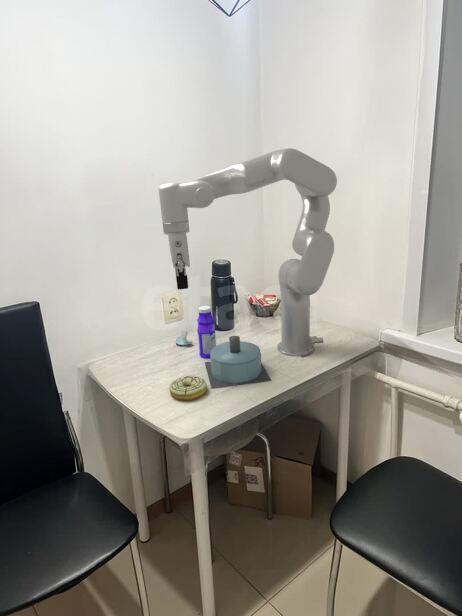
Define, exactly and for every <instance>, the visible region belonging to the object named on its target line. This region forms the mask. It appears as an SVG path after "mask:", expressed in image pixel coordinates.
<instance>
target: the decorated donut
mask: <svg viewBox="0 0 462 616" xmlns="http://www.w3.org/2000/svg"><path fill="white" fill-rule="evenodd" d="M207 388H208V384H207V382H206V379H205V378H203V377H200V376H195V375H186V376H181V377H178V378H176V379H173V380H172V381H171V382H170V384H169V387H168V389H169V392H170V395H171V396H172V397H173V398H174V399H176V400H179V401H183V402H185V401H193V400H196V399H198V398H200V397H202V396H203V395H204V394H205V393H206V391H207Z"/></svg>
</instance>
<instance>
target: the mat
mask: <svg viewBox="0 0 462 616" xmlns="http://www.w3.org/2000/svg"><path fill="white" fill-rule="evenodd" d="M204 365H205V370H206V374H207V377H208V381H209V384H210V385H209V386H210V389H211V390H213V389H220V388H228V387H237V386H243V385H251V384H258V383H259V384H260V383H266V382H272V381H273V380H272V378H271V377H270V375H269V373H268V371H267V370H266V368H265V366H264V364H263V362H261V372H260V374H259V376H258V377H256V378H254V379H252V380H250V381H248V382H241V383H228V382H221V381H219V380H217V379H216V378H214V377H213V375H212V371H211V360H210V361H205V362H204Z"/></svg>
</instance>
